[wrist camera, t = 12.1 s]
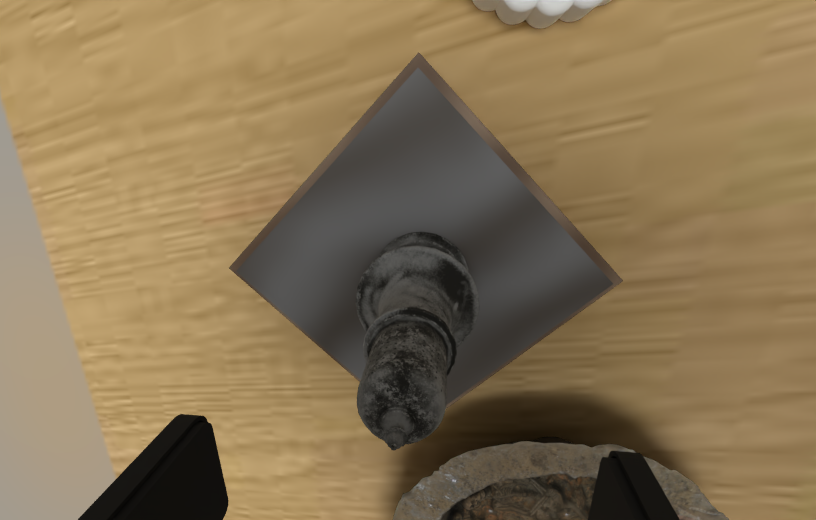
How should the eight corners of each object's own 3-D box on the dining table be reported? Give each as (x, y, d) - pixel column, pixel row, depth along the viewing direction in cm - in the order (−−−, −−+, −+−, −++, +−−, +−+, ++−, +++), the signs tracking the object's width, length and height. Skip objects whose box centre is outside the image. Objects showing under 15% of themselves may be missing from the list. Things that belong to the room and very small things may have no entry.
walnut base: (593, 254, 25) (627, 284, 20) (420, 387, 30) (415, 436, 25) (423, 66, 22) (417, 50, 18) (262, 245, 27) (224, 271, 22)
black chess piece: (359, 306, 22) (270, 493, 11) (383, 212, 20) (306, 323, 9) (454, 335, 22) (464, 550, 11) (489, 244, 20) (544, 394, 9)
